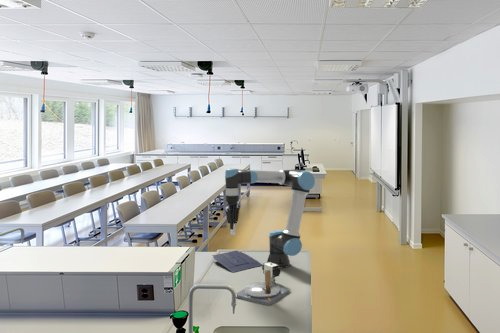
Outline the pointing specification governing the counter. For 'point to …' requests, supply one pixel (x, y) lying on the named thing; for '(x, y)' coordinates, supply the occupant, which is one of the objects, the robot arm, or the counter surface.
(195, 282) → the counter surface
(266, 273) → the peg stand
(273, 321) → the counter surface
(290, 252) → the robot arm
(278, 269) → the pneumatic valve
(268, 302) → the dial plate
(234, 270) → the dark blue flat panel
